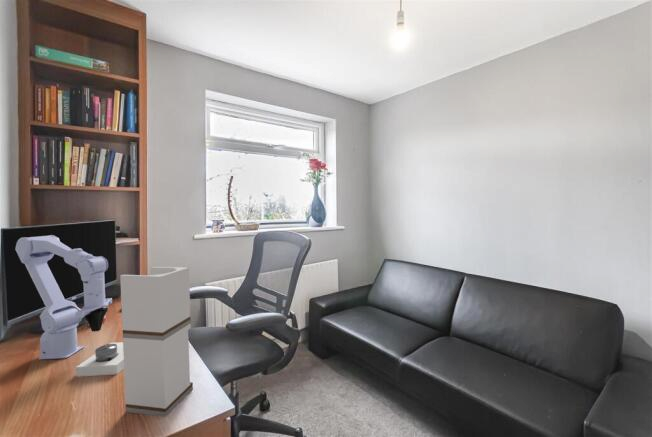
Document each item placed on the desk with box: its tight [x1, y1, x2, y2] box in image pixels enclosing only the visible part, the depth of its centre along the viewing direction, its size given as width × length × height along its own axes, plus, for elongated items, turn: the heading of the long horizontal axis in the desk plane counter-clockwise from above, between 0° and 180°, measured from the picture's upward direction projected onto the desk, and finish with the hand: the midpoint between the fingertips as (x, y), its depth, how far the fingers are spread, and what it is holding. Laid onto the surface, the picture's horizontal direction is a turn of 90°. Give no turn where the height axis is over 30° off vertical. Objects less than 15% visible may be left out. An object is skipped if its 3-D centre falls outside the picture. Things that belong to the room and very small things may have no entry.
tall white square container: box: [119, 266, 194, 418], centre depth 76 cm, size 11×11×35 cm
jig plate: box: [75, 341, 124, 378], centre depth 96 cm, size 12×16×3 cm
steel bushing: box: [94, 343, 117, 362], centre depth 93 cm, size 6×6×6 cm
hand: (96, 330), depth 99 cm, fingers closed
